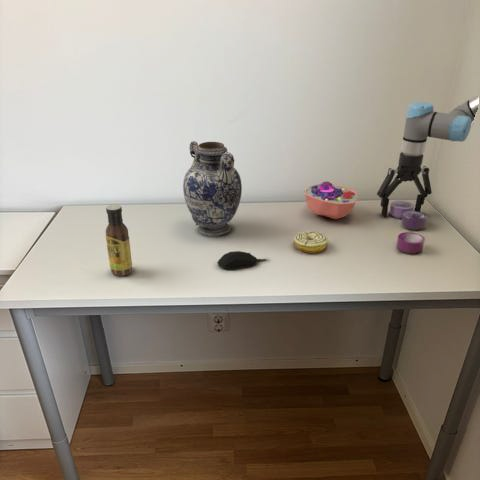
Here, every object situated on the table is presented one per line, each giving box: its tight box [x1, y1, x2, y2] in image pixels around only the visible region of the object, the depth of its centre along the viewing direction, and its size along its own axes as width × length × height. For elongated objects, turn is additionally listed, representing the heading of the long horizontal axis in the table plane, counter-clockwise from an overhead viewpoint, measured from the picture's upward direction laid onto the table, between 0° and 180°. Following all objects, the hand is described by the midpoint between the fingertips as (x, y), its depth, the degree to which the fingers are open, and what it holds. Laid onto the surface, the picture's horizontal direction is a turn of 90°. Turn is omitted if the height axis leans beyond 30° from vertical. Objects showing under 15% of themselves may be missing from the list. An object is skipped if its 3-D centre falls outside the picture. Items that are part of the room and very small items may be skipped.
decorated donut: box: [293, 231, 329, 254], centre depth 160 cm, size 10×11×4 cm
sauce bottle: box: [105, 203, 133, 277], centre depth 142 cm, size 6×6×20 cm
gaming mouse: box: [217, 250, 267, 270], centre depth 151 cm, size 6×15×4 cm, turn 107°
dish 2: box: [395, 231, 426, 255], centre depth 159 cm, size 8×8×4 cm
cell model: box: [304, 180, 358, 220], centre depth 179 cm, size 17×20×11 cm
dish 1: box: [388, 199, 415, 219], centre depth 181 cm, size 8×8×4 cm
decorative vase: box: [182, 140, 243, 237], centre depth 164 cm, size 21×19×28 cm
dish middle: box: [400, 210, 429, 231], centre depth 173 cm, size 8×8×4 cm
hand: (400, 214), depth 182 cm, fingers open, 12 cm apart
